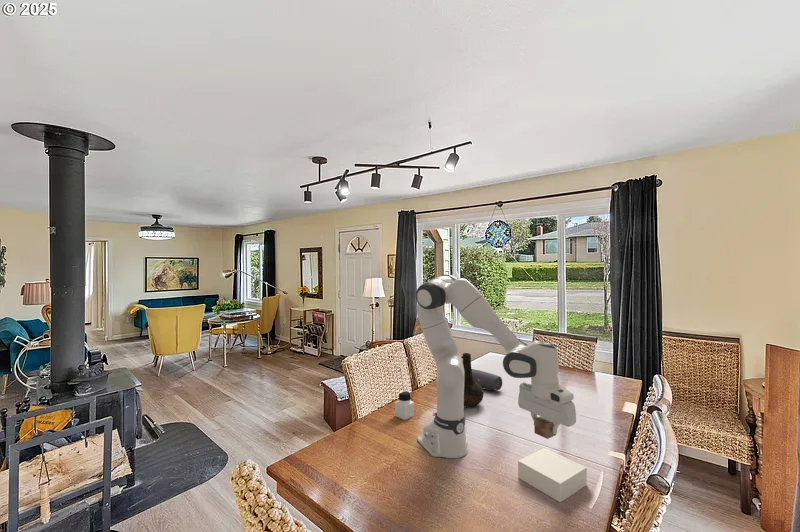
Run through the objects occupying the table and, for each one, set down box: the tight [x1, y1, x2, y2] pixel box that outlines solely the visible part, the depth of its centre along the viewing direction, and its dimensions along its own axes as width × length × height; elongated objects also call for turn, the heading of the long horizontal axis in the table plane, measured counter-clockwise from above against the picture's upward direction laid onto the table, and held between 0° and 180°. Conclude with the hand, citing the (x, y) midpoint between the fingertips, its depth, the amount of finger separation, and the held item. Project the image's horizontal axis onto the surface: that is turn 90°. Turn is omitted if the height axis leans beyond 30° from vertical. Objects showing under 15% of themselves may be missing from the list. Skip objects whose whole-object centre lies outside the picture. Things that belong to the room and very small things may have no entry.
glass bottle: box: [461, 352, 485, 408], centre depth 191 cm, size 18×18×28 cm
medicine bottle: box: [394, 390, 415, 421], centre depth 176 cm, size 7×7×12 cm
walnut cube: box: [533, 416, 557, 440], centre depth 120 cm, size 5×5×5 cm
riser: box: [517, 447, 588, 503], centre depth 122 cm, size 16×16×6 cm
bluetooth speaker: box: [471, 368, 503, 391], centre depth 218 cm, size 23×9×10 cm, turn 42°
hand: (545, 429), depth 120 cm, fingers closed on walnut cube, 5 cm apart
